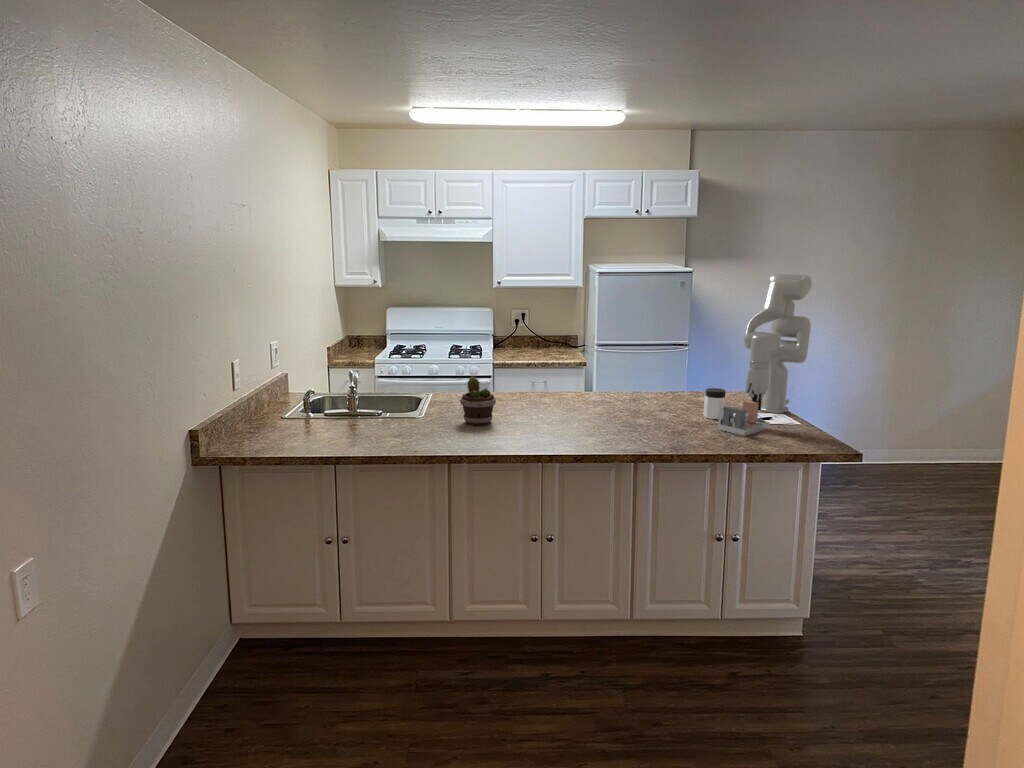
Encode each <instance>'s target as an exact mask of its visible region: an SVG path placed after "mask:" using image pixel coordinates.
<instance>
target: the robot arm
mask: <svg viewBox="0 0 1024 768" xmlns="http://www.w3.org/2000/svg"><path fill="white" fill-rule="evenodd" d="M811 289H812V278H811V277H810V276H809V275H807V274H793V273H792V274H790V273H776V274H773V275H771V276H770V277H769V279H768V286H767V292H766V296H765V299H764V302H763V303H764V304H763V308H762V310H760V311H758V312H757V313H756V314H755V315H754V316H752V318H751V319H749V321H748V323H747V326H746V328H745V333H744V337H743V345H744V347H745V348H746V349H747V350H750V356H749V369H748V371H747V375H746V381H745V393H746V394H748V397H749V398H751V400H750V401H754V402H759V404H758V412H759V411H762V412H765V413H772V414H786V413H788V412H789V410H790V408H789V407H787V406H786V405H788V404H790V399H787V389H788V376H789V371H788V369H787V367H786V365H785V363H792V364H803V363H804V362H805V361H806V360H807V357H808V356H807V355H808V351H809V345H810V343H809V342H810V336H811V335H810V334H811V321H810V319H809V318H808V317H806V316H799V315H795V307H796V304H795V302H794V301H801V300H804V298H806V296H807V295H808V294H809V293H810V291H811ZM770 322H771V327H770V329H771V332H766V331H756V329H758V327H760V326H762V325H764V324H767V323H770ZM782 338H792V339H796V340H788V339H782ZM784 412H785V413H784Z"/></svg>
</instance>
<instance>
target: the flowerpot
mask: <svg viewBox="0 0 1024 768" xmlns="http://www.w3.org/2000/svg"><path fill="white" fill-rule="evenodd" d="M473 374H474V373H473ZM473 374H472V375H471V376H469V378H468V379H467V381H466V382H465V383H467V385H466V388H467V390H466V391H467V392H465V394H462V396H461V397H460V400H459V402H460V405H461V406H462V409H463V412H464V413H463V419H464V422H465V423H466V424H467V425H470V426H485V425H488V424H490V423H491V422H492V420H493V410H494V405H495V404H496V402H497V401H496V400H497V399H496V397H495V396H494V394H491V390H489V388H487V387H486V386H485V387H484V388H483V389H481V383H480V379H479V378H476V377H477V376H475V375H473Z"/></svg>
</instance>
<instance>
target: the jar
mask: <svg viewBox="0 0 1024 768" xmlns="http://www.w3.org/2000/svg"><path fill="white" fill-rule="evenodd" d="M726 394H727V393H726V390H725V389H723V388H719V387H718V388H717V387H710V388H709V387H708V388H706V389H705V394H704V395H703V396H704V397H703V398H704V401H703V414H702V415H703V417H704V418H705V419H707V418H708V419H707V420H714V419H717V421H718V419H721V418H723V411H724V410H723V407H726V403H727V396H726Z"/></svg>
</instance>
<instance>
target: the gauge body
mask: <svg viewBox="0 0 1024 768" xmlns="http://www.w3.org/2000/svg"><path fill="white" fill-rule="evenodd" d="M723 410H724V411H723V418H721V419H719V420H717V421H718V423H717V430H718V429H719V430H718V431H721V430H723V431H722V432H725V431H727V432H726V433H729V432H731V433H730V434H733V433H734V434H733V435H739V436H742V437H747V436H748V435H752V434H757V433H759V432H762V431H765V430H769V429H770V425H771V422H769V421H766V422H765V423H763V422H758V421H757V422H755V423H751V422H747V421H745V415H746V410H744V409H743V408H738V407H733V406H729V405H727V406H726V405H725V407H723ZM733 417H735V423H732V422H730V419H731V418H733Z"/></svg>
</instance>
